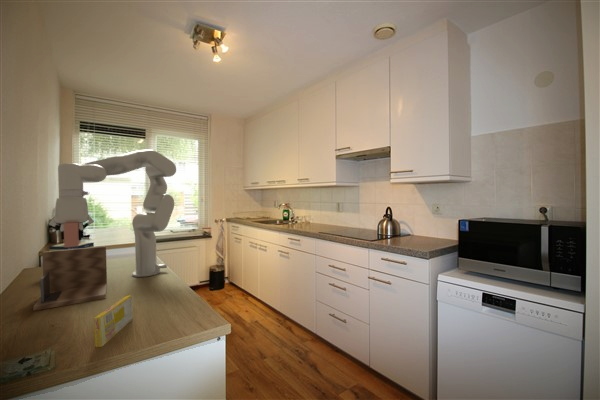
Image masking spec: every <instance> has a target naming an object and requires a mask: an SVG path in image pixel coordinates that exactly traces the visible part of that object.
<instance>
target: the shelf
mask: <svg viewBox="0 0 600 400" xmlns="http://www.w3.org/2000/svg"><path fill="white" fill-rule="evenodd" d="M107 268H108V267H107V245H103V246H94V247H90V248H79V249H68V250H58V251H49V250H48V251H42V276H43V275H44V274H45V273H46V272H49V276H50V293H54V292H61V291H62V293H61V294H60V296H59V298H58V300H57V301H52V302H46V303H41V296H40V297H39V298H38V300H37V301H36V302H35V304H34V305H33V307H32V308H33V309H32V310H33V311H40V310H41V311H42V310H46V309H51V308H57V307H62V306H68V305H74V304H80V303H85V302H86V303H87V302H91V301H96V300H101V299H106V297H107V288H108V278H107V277H108V275H107V274H108V273H107Z"/></svg>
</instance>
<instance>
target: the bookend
mask: <svg viewBox="0 0 600 400" xmlns="http://www.w3.org/2000/svg"><path fill="white" fill-rule="evenodd" d="M39 279H40V280H39V281H40V283H39V284H40V297H41V303H46V302H52V301H57V300H58V298H59V296H60V294H61V293H62V291H61V292H54V293H50V276H49V272H46V273H45V274H44V275H43V274H42V276H41V278H39Z"/></svg>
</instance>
